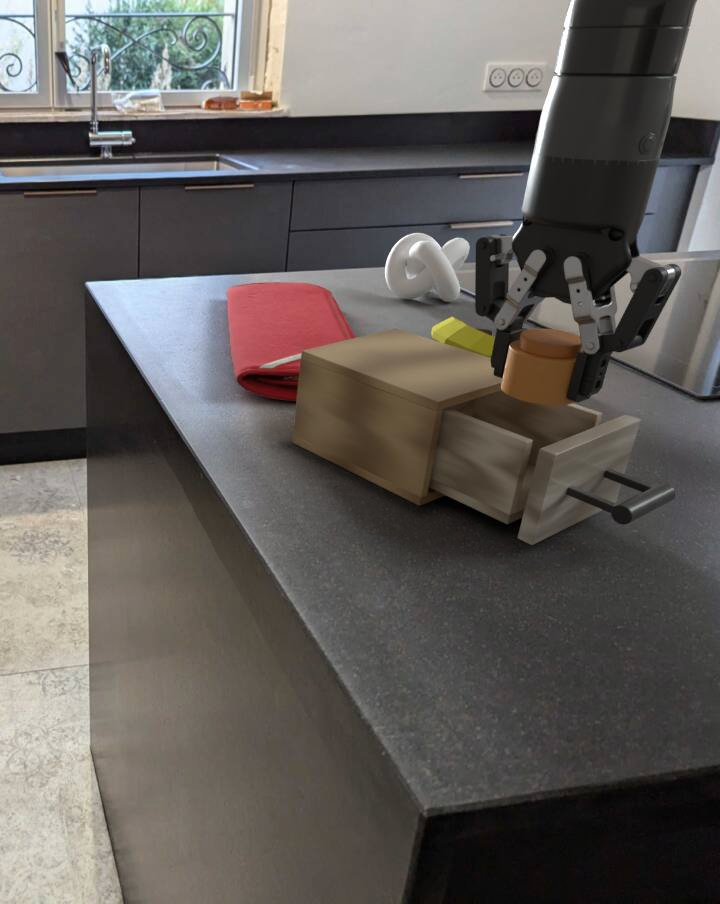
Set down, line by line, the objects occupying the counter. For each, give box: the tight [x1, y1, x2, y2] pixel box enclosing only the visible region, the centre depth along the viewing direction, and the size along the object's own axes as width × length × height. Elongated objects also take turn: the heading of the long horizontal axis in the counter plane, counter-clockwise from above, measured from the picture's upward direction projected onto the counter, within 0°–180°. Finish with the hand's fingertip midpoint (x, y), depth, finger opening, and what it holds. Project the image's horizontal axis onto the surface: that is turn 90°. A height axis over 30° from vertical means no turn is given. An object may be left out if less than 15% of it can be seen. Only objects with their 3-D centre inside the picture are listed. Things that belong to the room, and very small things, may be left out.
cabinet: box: [291, 327, 502, 507], centre depth 73 cm, size 15×13×9 cm
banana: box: [430, 316, 495, 358], centre depth 98 cm, size 5×17×15 cm
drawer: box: [429, 390, 676, 546], centre depth 64 cm, size 18×11×7 cm, turn 33°
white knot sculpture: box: [384, 232, 471, 303], centre depth 124 cm, size 11×12×9 cm
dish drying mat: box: [226, 281, 357, 402], centre depth 104 cm, size 16×41×4 cm, turn 174°
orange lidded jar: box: [501, 328, 583, 405], centre depth 61 cm, size 5×5×4 cm
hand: (540, 386), depth 62 cm, fingers closed on orange lidded jar, 5 cm apart
